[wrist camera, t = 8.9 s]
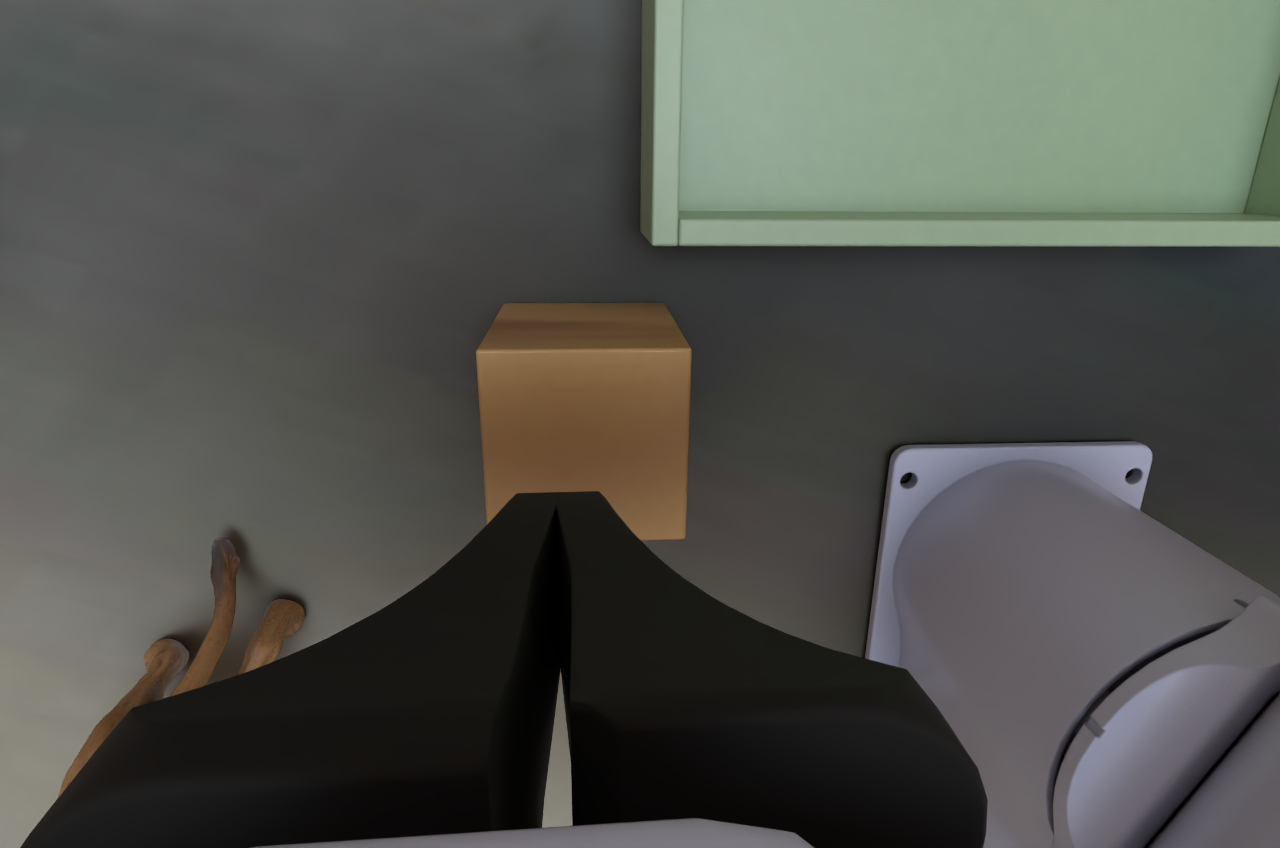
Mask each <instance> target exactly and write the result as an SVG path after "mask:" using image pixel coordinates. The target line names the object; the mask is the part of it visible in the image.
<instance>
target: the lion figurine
mask: <svg viewBox="0 0 1280 848" xmlns="http://www.w3.org/2000/svg"><path fill="white" fill-rule="evenodd" d="M239 564H240V558H239V557H238V555H237V554H236V550H235V546H234V544H233V543H232V542H231V541H230V540H229V539H227V538H217V539H216V540H215V541H214V542H213V545H212V567H211V580H212V584H213V586H214V593H215V609H214V616H213V620H212V623H211V626H210V628H209V631H208V633H207V635H206V638H205V640H204V642H203V644H202V646H201V648H200V650H199V651H198V653H197V655H196V657H195V659H194V661H193V662H192V664H191V666H190V667H189V669H188V671H187V673H186V674H185V676H184V677H183V679H182V680H181V682H180V683H179V685H178V686H177V687H176V689H175V690H174V691H173V693H172V694H171V696H174V695H177V694H180V693H183V692H187V691H190V690H193V689H196V688H199V687H203V686H206V684H207V682H208V680H209V678H210V676H211V674H212V672H213V670H214V668H215V666H216V664H217V662H218V660H219V658H220V656H221V654H222V652H223V650H224V648H225V646H226V643H227V641H228V638H229V635H230V632H231V628H232V624H233V619H234V614H235V603H236V575H237V571H238V567H239ZM303 622H304V609H303V608H302V606H301V605H299V604H298V603H296V602H294V601H290V600H285V599H277V600H274V601H272V602H271V603H270V604H269V605H268V607H267V609H266V610H265V612H264V615H263V618H262V620H261V623H260V625H259V626H258V628H257V629H256V631H255V632H254V634H253V636H252V637H251V639H250V641H249V644H248V646H247V649H246V652H245V655H244V660H243V664H242V666H241V669H240V671H239V673H238V675H240V674H242V673H245V672H248V671H251V670H254V669H256V668H259V667H261V666H264V665H266V664H269V663H271V662H273V661H274V660H275V658H276V656H277V655H278V653H279V651H280V648H281V645H282V641H283V638H286V637H290V636H291V635H293V634H294V633H295V632H297V631H298V630H299V629H300V628H301V627H302V625H303ZM188 659H189V652H188V651H187V649H186V648H185V647H184V646H183V645H182V644H181V643H180V642H179V641H176V640H172V639H163V640H159V641H157V642H156V643H154V644H153V645H152V646H151V647H150V648H149V649H148V650H147V652H146V653H145V656H144V661H145V664H146V668H147V670H148V671H147V673H146V674H145V675H144V676H143V677H142V678H141V679H140V680H139V682H138V683H137V684H136V685H135V687H134V688H133V689H132V690H131V691H130V692H129V693H128V694H127V695H126V696H124V697H123V698H122V699H121V701H120V702H119V703H118V704H117V705H116V706H115V707H114V709H113V710H112V711H111V712H109V713H108V714H107V715H106V716H105V717H104V718H103V719H102V720H101V721H100V722H99V723H98V724H97V725H96V727H95V728H94V729H93V731H92V733H91V735H90V736H89V738H88V739H87V741H86V743H85V744H84V746H83V747H82V749H81V750H80V752H79V754H78V755H77V757H76V759H75V760H74V762H73V764H72V765H71V767H70V768H69V770H68V772H67V774H66V776H65V778H64V780H63V783H62V787H61V790H60V793H59V796H60V795H61V794H62V793H63V791H64V790H65V789H66V788H67V786H68V785H69V784H70V783H71V781H72V780H73V779H74V777H75V776H76V775H77V774H78V772H79V771H80V770H81V769H82V767H83V766H84V765H85V764H86V762H87V761H88V760H89V758H90V757H91V756H92V755H93V753H94V752H95V751H96V750H97V749H98V747H99V746H100V745H101V744H102V743H103V741H104V740H105V739H106V738H107V737H108V735H109V734H110V733H111V732H112V731H113V729H114V728H115V727H116V726H117V725H118V723H119V722H120V721H121V720H122V719H123V718H124V717H125V715H126V714H127V713H128V712H129V711H130V710H131V709H132V707H136V706H140V705H143V704H147V703H151V702H154V701H158V700H161V699H163V695H164V691H165V689H166V687H167V686H168V684H169V683H170V682H171V681H172V679H173V678H174V677H175V676H176V675H178V674H179V673H180V672H181V671H182V670H183V669H184V667H185V666H186V664H187V662H188ZM171 696H170V697H171ZM58 798H59V797H58Z"/></svg>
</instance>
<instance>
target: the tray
mask: <svg viewBox="0 0 1280 848" xmlns="http://www.w3.org/2000/svg"><path fill="white" fill-rule="evenodd" d="M640 231H641V233H642V234H643V235H644V236H645V238H646V239H647V240H648V241H649V242H650V243H651V245H653V246H677V245H680V246H1030V247H1280V0H642V80H641V205H640Z"/></svg>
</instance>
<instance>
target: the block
mask: <svg viewBox="0 0 1280 848" xmlns="http://www.w3.org/2000/svg"><path fill="white" fill-rule="evenodd" d="M691 359H692V350H691V348H690V346H689V345H688V343H687V341H686V339H685V338H684V336H683V334H682V333H681V331H680V329H679V328H678V326H677V324H676V322H675V321H674V319H673V317H672V316H671V314H670V312H669V311H668V309H667V307H666V305H665V304H664V303H505V304H503V305H502V307H501V309H500V311H499V312H498V314H497V316H496V318H495V319H494V321H493V323H492V324H491V326H490V328H489V330H488V331H487V333H486V335H485V337H484V338H483V340H482V342H481V343H480V345H479V347H478V349H477V351H476V363H477V379H478V395H479V411H480V427H481V443H482V459H483V475H484V491H485V507H486V523H487V524H488V523H489V522H490V521H491V520H492V519H493V518H494V517H495V516H496V514H497V513H498V512H499V511H500V510H501V509H502V508H503V507H504V506H505V504H506V503H507V502H508V501H509V500H510V499H511V498H512V497H513V496H514V495H515V494H516V493H543V492H582V491H599V492H600V493H601V494H602V495H603V496H604V497H605V498H606V499H607V501H608V502H609V503H610V505H611V506H612V508H613V509H614V510H615V512H616V513H617V514H618V515H619V517H620V518H621V519H622V520H623V521H624V523H625V524H626V525H627V526H628V527H629V528H630V530H631V531H632V532H633V533H634V534H635V535H636V536H637V537H638V538H639V539H640V540H667V539H684V538H685V536H686V511H687V480H688V450H689V420H690V389H691Z"/></svg>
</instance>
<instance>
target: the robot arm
mask: <svg viewBox="0 0 1280 848" xmlns="http://www.w3.org/2000/svg"><path fill="white" fill-rule="evenodd" d="M1151 463H1152V452H1151V450H1150V449H1149V448H1148V447H1147V446H1145V445H1143V444H1141V443H1139V442H1134V441H1118V442H1056V443H994V444H933V445H905V446H901V447H900V448H898V449H896V450H895V452H894V453H893V454H892V456H891V459H890V463H889V471H888V479H887V487H886V495H885V503H884V511H883V519H882V527H881V535H880V543H879V550H878V558H877V566H876V574H875V582H874V590H873V598H872V606H871V614H870V622H869V629H868V637H867V645H866V653H865V658H862V657H858V656H854V655H850V654H846V653H842V652H839V651H835V650H831V649H828V648H825V647H822V646H819V645H817V644H814V643H811V642H808V641H806V640H803V639H800V638H797V637H795V636H792V635H789V634H786V633H784V632H782V631H779V630H777V629H775V628H772V627H770V626H767V625H765V624H763V623H761V622H758V621H756V620H754V619H752V618H751V617H749V616H747V615H745V614H743V613H741V612H739V611H737V610H735V609H733V608H731V607H729V606H727V605H725V604H723V603H722V602H720V601H718V600H716V599H715V598H713V597H711V596H710V595H708V594H707V593H705V592H704V591H702V590H701V589H699V588H698V587H696V586H695V585H693V584H692V583H690V582H689V581H687V580H686V579H684V578H683V577H681V576H680V575H679V574H677V573H676V572H675V571H673V570H672V569H671V568H670V567H669V566H667V565H666V564H665V563H664V562H663V561H662V560H660V559H659V558H658V557H657V556H656V555H655V554H654V553H653V552H651V551H650V550H649V549H648V548H647V546H646V545H645V544H644V543H643V542H642V541H641V540H640V539H639V538H638V537H637V536H636V535H635V534H634V533H633V532H632V531H631V530H630V528H629V527H628V526H627V525H626V524H625V523H624V521H623V520H622V519H621V518H620V517H619V515H618V514H617V513H616V512H615V510H614V509H613V508H612V506H611V505H610V503H609V502H608V501H607V499H606V498H605V497H604V496H603V495H602V494H601V493H600V492H599V491H582V492H543V493H516V494H515V495H514V496H513V497H512V498H511V499H510V500H509V501H508V502H507V503H506V504H505V506H504V507H503V508H502V509H501V510H500V511H499V512H498V513H497V514H496V516H495V517H494V518H493V519H492V520H491V521H490V522H489V523H488V524H487V525H486V526H485V527H484V528H483V529H482V530H481V531H480V532H479V533H478V534H477V535H476V536H475V537H474V538H473V539H472V540H471V541H470V542H469V543H468V544H467V545H466V546H465V547H464V548H463V549H462V550H461V551H460V552H459V553H458V554H456V555H455V556H454V557H453V558H452V559H451V560H449V561H448V562H447V563H446V564H445V565H444V566H442V567H441V568H440V569H439V570H438V571H437V572H435V573H434V574H433V575H432V576H430V577H429V578H428V579H426V580H425V581H424V582H422V583H421V584H419V585H418V586H417V587H415V588H414V589H412V590H411V591H409V592H408V593H406V594H405V595H403V596H402V597H400V598H399V599H397V600H396V601H394V602H393V603H391V604H390V605H388V606H386V607H385V608H383V609H381V610H380V611H378V612H376V613H374V614H372V615H370V616H369V617H367V618H365V619H363V620H361V621H359V622H357V623H355V624H353V625H352V626H350V627H348V628H346V629H344V630H342V631H340V632H338V633H336V634H335V635H333V636H331V637H329V638H327V639H325V640H323V641H321V642H319V643H316V644H314V645H312V646H309V647H307V648H305V649H303V650H300V651H298V652H296V653H294V654H291V655H289V656H286V657H284V658H281V659H279V660H276V661H274V662H271V663H269V664H266V665H264V666H261V667H259V668H256V669H254V670H251V671H248V672H245V673H242V674H240V675H237V676H234V677H231V678H228V679H225V680H222V681H219V682H215V683H212V684H209V685H206V686H203V687H199V688H196V689H193V690H190V691H187V692H183V693H180V694H177V695H174V696H171V697H167V698H164V699H161V700H158V701H154V702H151V703H147V704H143V705H140V706H136V707H132V709H131V710H130V711H129V712H128V713H127V714H126V715H125V717H124V718H123V719H122V720H121V721H120V722H119V723H118V725H117V726H116V727H115V728H114V729H113V731H112V732H111V733H110V734H109V735H108V737H107V738H106V739H105V740H104V741H103V743H102V744H101V745H100V746H99V747H98V749H97V750H96V751H95V752H94V753H93V755H92V756H91V757H90V758H89V760H88V761H87V762H86V764H85V765H84V766H83V767H82V769H81V770H80V771H79V772H78V774H77V775H76V776H75V777H74V779H73V780H72V781H71V783H70V784H69V785H68V786H67V788H66V789H65V790H64V791H63V793H62V794H61V795H60V796H59V798H58V799H57V800H56V802H55V803H54V804H53V805H52V807H51V808H50V809H49V810H48V812H47V813H46V814H45V815H44V817H43V818H42V819H41V820H40V822H39V823H38V824H37V826H36V827H35V828H34V829H33V831H32V832H31V833H30V834H29V836H28V837H27V839H26V840H25V842H24V843H23V845H22V846H21V847H20V848H1280V597H1279V596H1277V595H1276V594H1274V593H1272V592H1271V591H1269V590H1268V589H1266V588H1264V587H1263V586H1261V585H1260V584H1258V583H1256V582H1255V581H1253V580H1251V579H1250V578H1248V577H1247V576H1245V575H1243V574H1242V573H1240V572H1239V571H1237V570H1235V569H1234V568H1232V567H1230V566H1229V565H1227V564H1226V563H1224V562H1222V561H1221V560H1219V559H1218V558H1216V557H1214V556H1213V555H1211V554H1209V553H1208V552H1206V551H1205V550H1203V549H1201V548H1200V547H1198V546H1197V545H1195V544H1193V543H1192V542H1190V541H1188V540H1187V539H1185V538H1184V537H1182V536H1180V535H1179V534H1177V533H1176V532H1174V531H1172V530H1171V529H1169V528H1167V527H1166V526H1164V525H1163V524H1161V523H1159V522H1158V521H1156V520H1155V519H1153V518H1151V517H1150V516H1148V515H1146V514H1145V513H1143V512H1142V511H1140V507H1141V503H1142V499H1143V495H1144V491H1145V487H1146V483H1147V479H1148V475H1149V471H1150V467H1151ZM1131 469H1133V472H1132V474H1131V476H1129V477H1128V478H1126V479H1125V476H1126V474H1127V472H1128V471H1130V470H1131ZM909 472H911V473H912V477H911V479H910V480H909V481H908V482H907V483H903V484H901V483H900V480H901V477H902V476H903V475H904V474H905V473H909ZM560 669H561V675H562V684H563V693H564V703H565V712H566V721H567V730H568V739H569V748H570V758H571V774H572V817H573V826H564V827H549V828H542V819H543V807H544V796H545V788H546V780H547V773H548V765H549V757H550V749H551V741H552V733H553V725H554V717H555V709H556V701H557V693H558V685H559V677H560Z"/></svg>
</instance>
